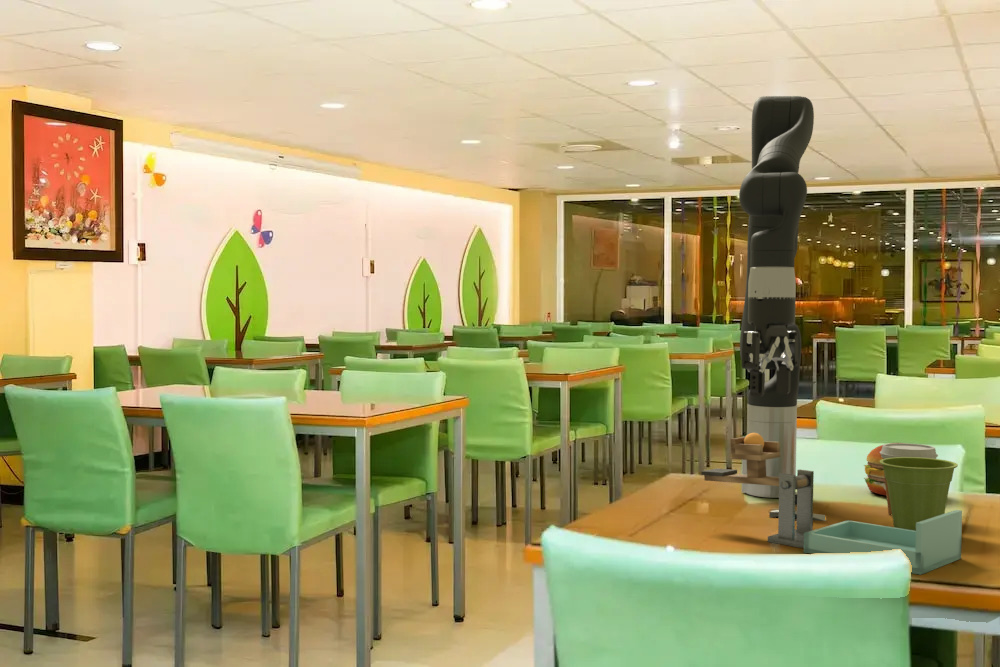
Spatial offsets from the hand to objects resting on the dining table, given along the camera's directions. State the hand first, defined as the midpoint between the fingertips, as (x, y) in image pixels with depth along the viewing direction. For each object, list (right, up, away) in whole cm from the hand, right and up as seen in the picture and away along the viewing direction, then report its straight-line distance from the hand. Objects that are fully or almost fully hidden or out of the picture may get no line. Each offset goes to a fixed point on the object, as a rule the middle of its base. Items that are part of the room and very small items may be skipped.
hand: (770, 394), depth 179 cm
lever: (-4, -14, -4) cm, 15 cm away
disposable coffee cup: (+27, -22, +12) cm, 37 cm away
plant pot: (+24, -22, -1) cm, 32 cm away
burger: (+33, -21, +33) cm, 51 cm away
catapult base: (+2, -22, -9) cm, 24 cm away
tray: (+12, -23, -19) cm, 32 cm away
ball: (-4, -8, -4) cm, 9 cm away
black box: (+7, -22, +10) cm, 26 cm away
